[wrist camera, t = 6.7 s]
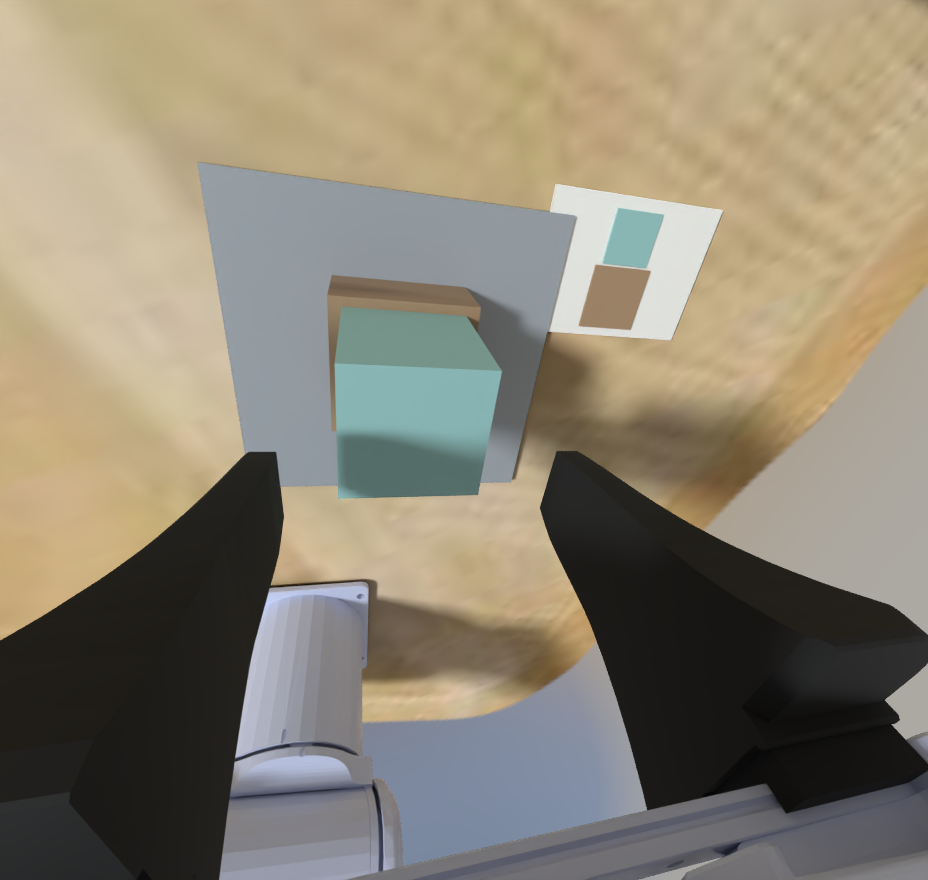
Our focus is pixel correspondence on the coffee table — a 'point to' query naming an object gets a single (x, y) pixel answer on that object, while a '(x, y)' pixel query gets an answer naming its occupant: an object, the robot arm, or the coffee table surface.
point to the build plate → (377, 257)
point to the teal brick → (411, 404)
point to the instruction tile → (628, 263)
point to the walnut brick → (391, 306)
